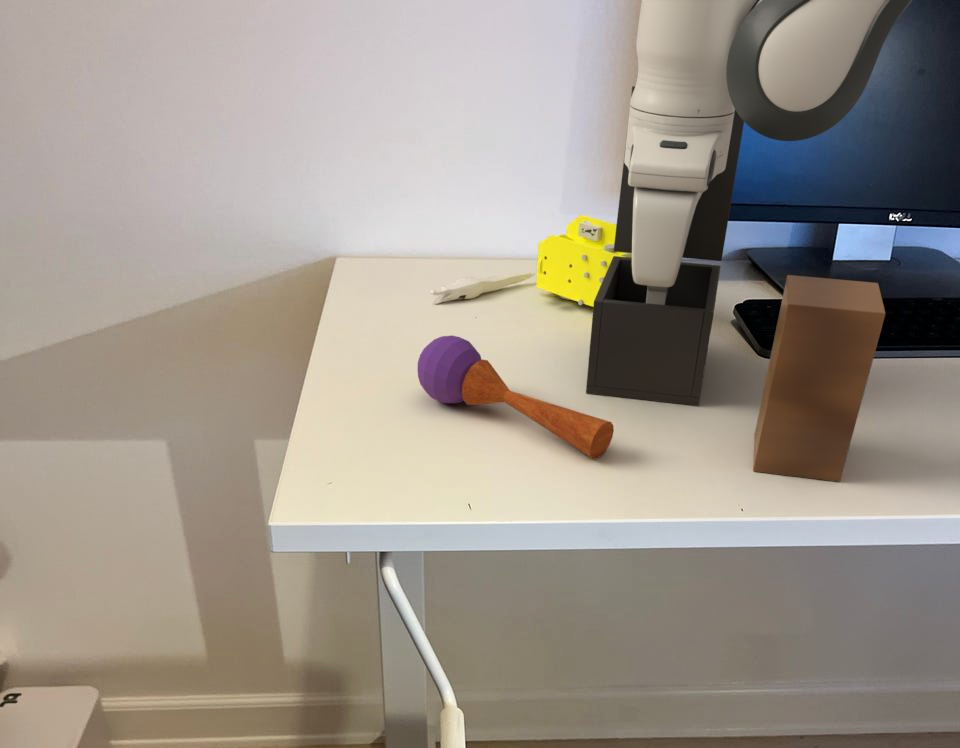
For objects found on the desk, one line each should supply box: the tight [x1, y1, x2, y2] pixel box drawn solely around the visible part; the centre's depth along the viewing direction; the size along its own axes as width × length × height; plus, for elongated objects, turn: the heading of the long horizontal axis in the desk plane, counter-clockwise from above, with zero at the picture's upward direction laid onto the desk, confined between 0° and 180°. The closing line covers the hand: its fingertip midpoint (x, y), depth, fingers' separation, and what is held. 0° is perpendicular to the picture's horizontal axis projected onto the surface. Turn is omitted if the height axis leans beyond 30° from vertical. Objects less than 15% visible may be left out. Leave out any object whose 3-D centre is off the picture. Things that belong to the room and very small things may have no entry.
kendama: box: [417, 334, 614, 460], centre depth 87 cm, size 6×6×20 cm
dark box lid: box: [614, 85, 745, 262], centre depth 97 cm, size 14×11×5 cm
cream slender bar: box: [429, 272, 536, 305], centre depth 115 cm, size 15×3×2 cm, turn 125°
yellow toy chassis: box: [535, 214, 632, 307], centre depth 110 cm, size 16×6×8 cm, turn 44°
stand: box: [752, 274, 886, 483], centre depth 80 cm, size 7×7×14 cm
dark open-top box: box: [585, 256, 722, 407], centre depth 96 cm, size 14×11×9 cm
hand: (656, 304), depth 94 cm, fingers closed
